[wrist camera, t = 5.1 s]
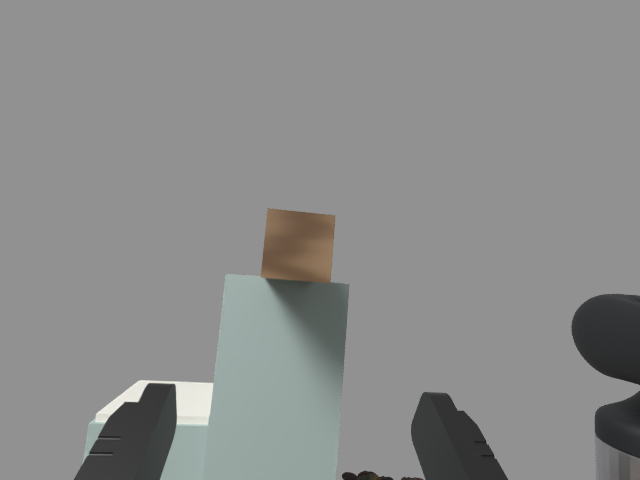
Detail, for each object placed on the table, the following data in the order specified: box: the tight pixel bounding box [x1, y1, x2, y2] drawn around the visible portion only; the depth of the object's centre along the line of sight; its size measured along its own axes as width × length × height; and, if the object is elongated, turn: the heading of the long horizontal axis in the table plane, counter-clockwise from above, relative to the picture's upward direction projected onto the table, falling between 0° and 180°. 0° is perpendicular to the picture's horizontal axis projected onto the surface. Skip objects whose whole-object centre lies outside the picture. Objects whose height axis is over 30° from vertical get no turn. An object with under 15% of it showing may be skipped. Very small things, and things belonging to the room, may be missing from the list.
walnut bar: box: [261, 209, 335, 283], centre depth 29 cm, size 4×20×4 cm, turn 8°
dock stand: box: [83, 274, 349, 480], centre depth 30 cm, size 19×12×32 cm, turn 98°
